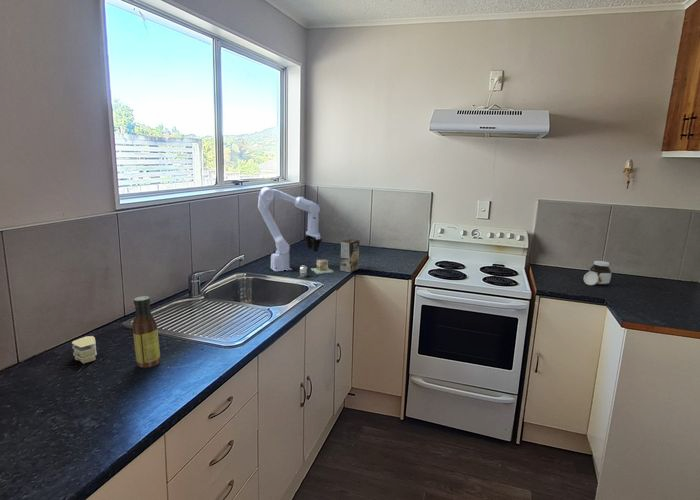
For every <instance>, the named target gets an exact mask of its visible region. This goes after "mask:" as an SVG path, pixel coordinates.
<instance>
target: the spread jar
mask: <svg viewBox="0 0 700 500" xmlns="http://www.w3.org/2000/svg"><path fill="white" fill-rule="evenodd" d="M611 278H612V270H611V268H610V262H609V261H605V260H594V261H593V264H592V265H591V266H590V267H589V271H588V272H586V273H585V274H584V275H583V282H584V284H585V285H588V286H594V285H595V286H600V287H603V286H605V287H606V286H607V285H609V284H610V281H611Z"/></svg>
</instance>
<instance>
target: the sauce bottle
mask: <svg viewBox="0 0 700 500" xmlns="http://www.w3.org/2000/svg"><path fill="white" fill-rule="evenodd" d="M150 303H151V298H150V296H148V295H147V296H146V295H144V296H143V295H142V296H138V297H137V296H136V297H134V298H133V305H134V308H135V316H134V317H133V320H132V333H133V334H132V335H133V343H134V352H135V361H136V363H137V367H139V368H142V369H148V368H152V367H155V366H158V365H159V363H160V362H161V350H160V341H159V333H158V325H157V323H156V320H155V319H154V316H153V315H152V312H151V306H150Z"/></svg>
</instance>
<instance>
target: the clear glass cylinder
mask: <svg viewBox="0 0 700 500" xmlns="http://www.w3.org/2000/svg"><path fill="white" fill-rule="evenodd" d="M307 275H308V266H306V265H304V266H302V265H300V266H299V277H300V278H307V277H308V276H307Z"/></svg>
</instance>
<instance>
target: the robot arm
mask: <svg viewBox="0 0 700 500" xmlns="http://www.w3.org/2000/svg"><path fill="white" fill-rule="evenodd" d="M274 199H275V200H278V199H281V200H284V201H286V202H288V203H292V204H293V205H294V207H295V208H297V209H300V210H302V211H304V212H307V230H306V231H305V235H304V236H303V238H304V239H305V242H306V247H307V249H308V250H311V249H312V250H313V253H317V252H319V247H320V244H321V242H323V241H322V240H323V239H322V238H321V233H320V232H319V218H320V217H319V213H320V211H321V208H320V205H319V204H317V203H316V202H314V201H312V200H310V199H309V200H308V199H306V198H305V197H304V196H297V197H295V196H292V195H290V194H288V193H286V192H284V191H281V190H278V189H276V188H275V189H274V188H271V187H267V186H264V187H262V188H261V189H260V192H259V194H258V199H257V200H258V202H257V209H258V211H259V213H260V214H261V217H262V219H263V221H264V223H265V224H266V226H267V229H268V230H269V232H270V234H271V237H272V238H273V240H274V243H275V248H276V250H275V252H274V253H271V254H270V267H269V268H270V269H271V270H273V271H274V272H285V271H284V270H286V271H293V269H292V268H291V267H290V250H291V249H290V248H291V246H290V244H289V243H288V242H287V241H286V239H285V238H284V236H283V235H282V233H281V231H280V229H279V227H278V225H277V223H276V222H275V219H274V218H273V216H272V213H271V212H270V211H271V210H269V206H270V204H271V202H272V201H273V200H274Z"/></svg>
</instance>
